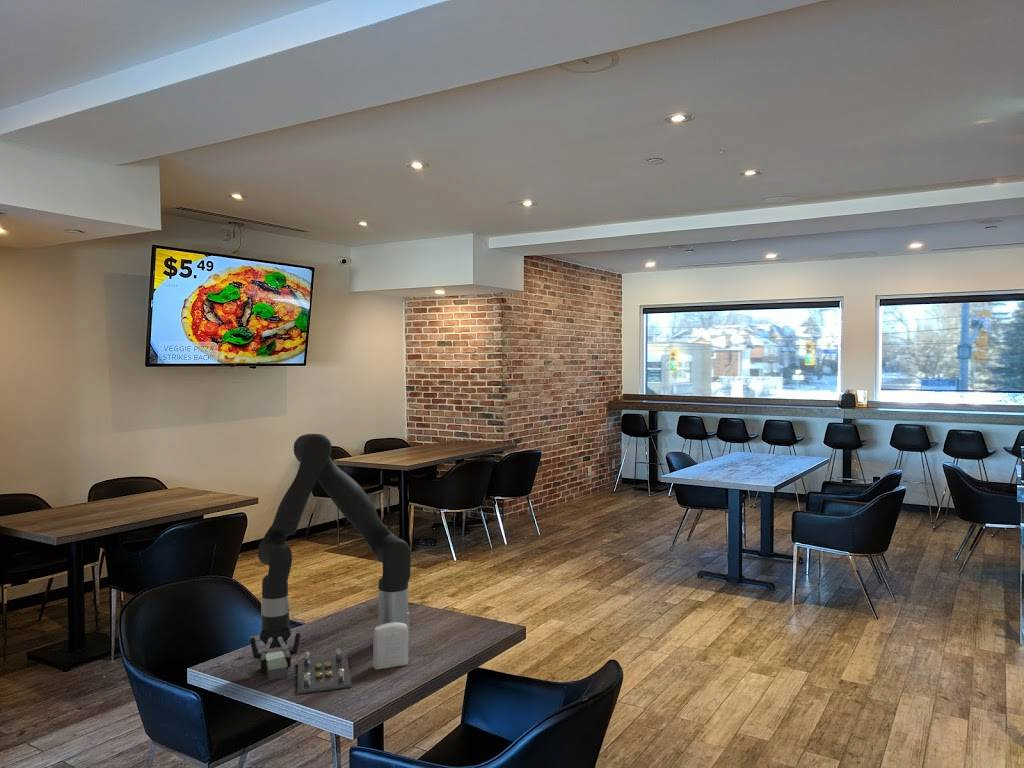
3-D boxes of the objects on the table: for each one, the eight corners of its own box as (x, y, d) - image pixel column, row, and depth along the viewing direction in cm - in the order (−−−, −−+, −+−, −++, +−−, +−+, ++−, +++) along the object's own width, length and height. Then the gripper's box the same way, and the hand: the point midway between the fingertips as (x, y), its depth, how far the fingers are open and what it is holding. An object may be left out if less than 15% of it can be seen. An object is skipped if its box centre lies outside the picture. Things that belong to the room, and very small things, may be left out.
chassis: (346, 657, 215) (346, 644, 215) (351, 687, 195) (351, 672, 195) (297, 663, 211) (297, 649, 211) (297, 693, 191) (297, 679, 191)
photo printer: (406, 659, 213) (405, 618, 213) (410, 665, 210) (409, 622, 209) (371, 666, 209) (371, 623, 209) (375, 671, 205) (374, 628, 205)
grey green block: (282, 664, 211) (282, 650, 211) (287, 677, 202) (287, 663, 202) (264, 667, 209) (264, 653, 209) (268, 680, 200) (268, 666, 200)
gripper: (301, 604, 211) (302, 662, 211) (249, 609, 207) (249, 668, 207) (301, 613, 203) (302, 672, 204) (247, 618, 199) (248, 678, 200)
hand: (275, 670), depth 205 cm, fingers closed on grey green block, 5 cm apart
